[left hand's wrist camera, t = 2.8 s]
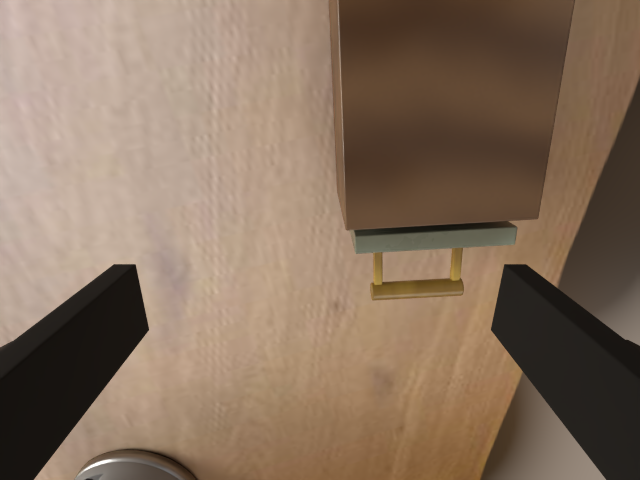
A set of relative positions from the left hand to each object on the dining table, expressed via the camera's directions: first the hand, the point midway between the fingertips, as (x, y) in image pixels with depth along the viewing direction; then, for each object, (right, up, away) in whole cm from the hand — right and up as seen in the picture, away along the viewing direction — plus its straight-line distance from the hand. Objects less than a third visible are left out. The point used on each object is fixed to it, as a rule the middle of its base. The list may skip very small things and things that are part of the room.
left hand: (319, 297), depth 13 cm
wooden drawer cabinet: (+6, +15, +13) cm, 21 cm away
